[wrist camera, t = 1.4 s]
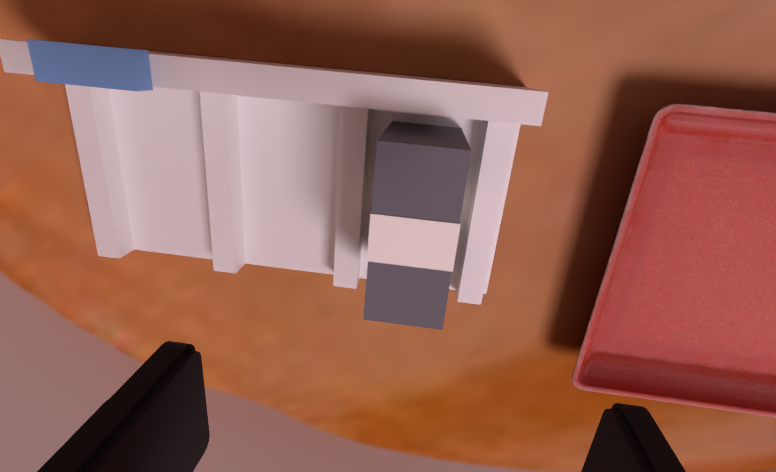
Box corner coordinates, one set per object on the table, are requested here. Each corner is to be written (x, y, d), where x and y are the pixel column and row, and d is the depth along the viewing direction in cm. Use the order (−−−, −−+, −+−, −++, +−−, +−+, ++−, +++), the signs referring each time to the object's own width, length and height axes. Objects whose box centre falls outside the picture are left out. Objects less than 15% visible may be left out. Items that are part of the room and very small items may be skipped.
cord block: (391, 120, 24) (375, 140, 18) (462, 127, 24) (472, 150, 18) (379, 260, 28) (362, 319, 21) (441, 267, 28) (443, 330, 21)
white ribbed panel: (76, 41, 25) (-30, 33, 19) (526, 84, 23) (556, 90, 18) (112, 243, 30) (36, 284, 24) (485, 290, 28) (498, 346, 23)
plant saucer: (556, 359, 30) (569, 391, 27) (631, 97, 24) (660, 101, 20) (820, 393, 29) (866, 431, 26) (981, 128, 22) (1067, 138, 19)
